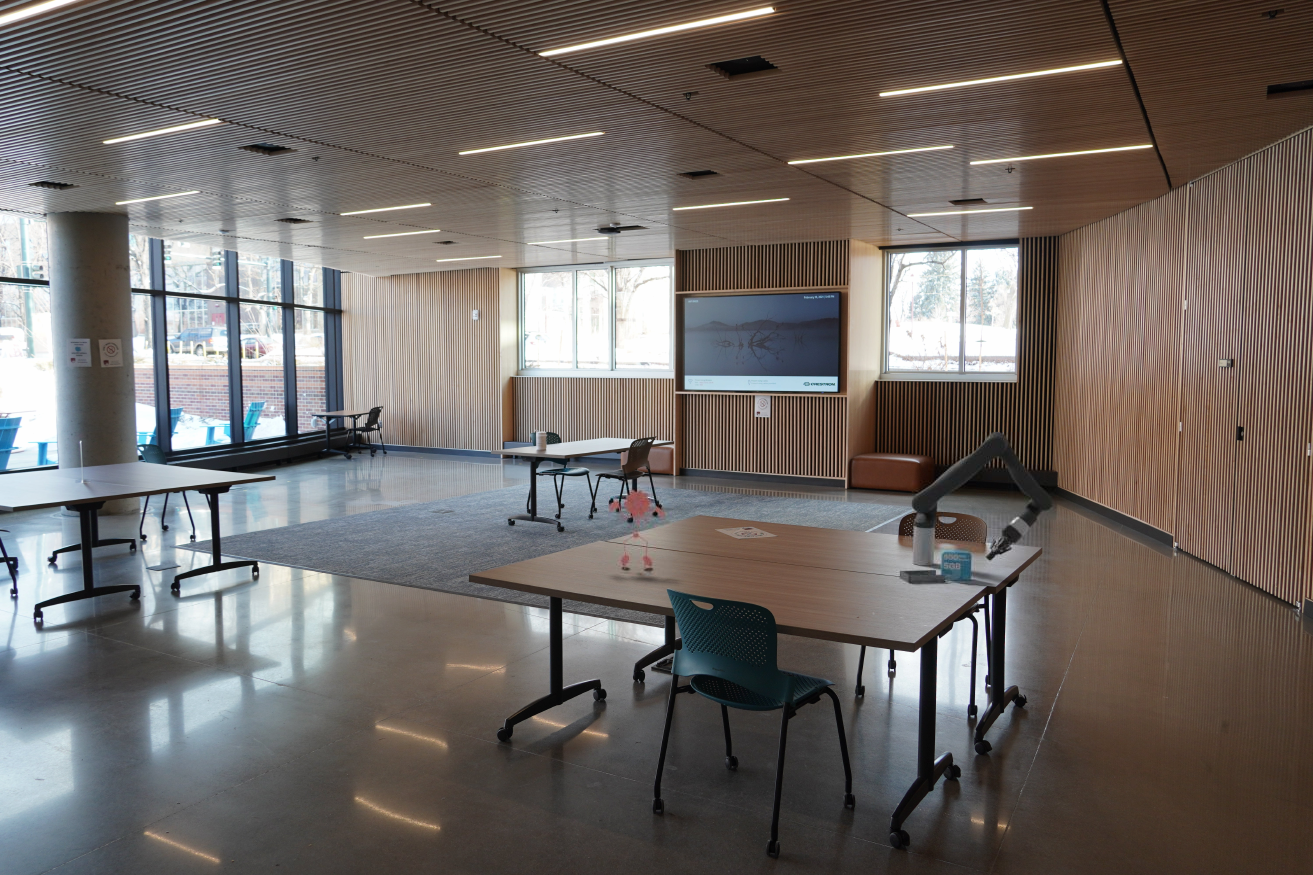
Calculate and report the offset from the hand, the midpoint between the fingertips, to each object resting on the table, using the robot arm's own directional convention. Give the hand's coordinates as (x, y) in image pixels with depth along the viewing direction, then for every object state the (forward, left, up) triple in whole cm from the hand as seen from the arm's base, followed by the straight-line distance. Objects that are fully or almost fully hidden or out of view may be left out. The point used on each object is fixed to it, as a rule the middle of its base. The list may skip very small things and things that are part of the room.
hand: (988, 558), depth 385 cm
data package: (0, -14, -8) cm, 17 cm away
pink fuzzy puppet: (-41, -146, -8) cm, 152 cm away
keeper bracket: (0, -29, -8) cm, 31 cm away
